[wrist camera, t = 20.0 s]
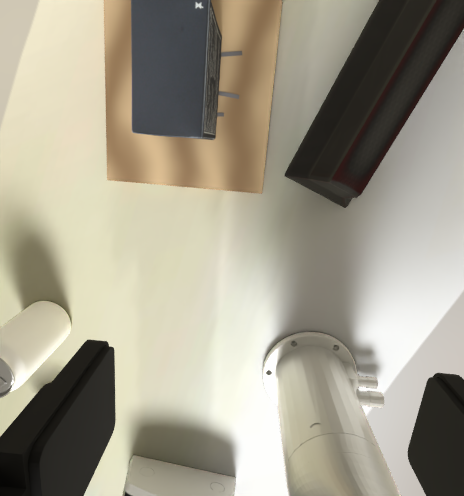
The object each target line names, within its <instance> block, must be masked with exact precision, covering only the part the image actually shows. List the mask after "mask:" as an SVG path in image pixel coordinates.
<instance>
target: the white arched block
mask: <svg viewBox="0 0 464 496" xmlns="http://www.w3.org/2000/svg"><path fill="white" fill-rule="evenodd" d="M234 491H235V477H231V476H227V475H222V474H218V473H213V472H209V471H204V470H200V469H195V468H190V467H186V466H181V465H177V464H172V463H168V462H163V461H159V460H154V459H150V458H145V457H140V456H136V455H133V456H132V458H131V461H130V464H129V469H128V472H127V477H126V482H125V486H124V491H123V496H234Z"/></svg>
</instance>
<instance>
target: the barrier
mask: <svg viewBox="0 0 464 496" xmlns="http://www.w3.org/2000/svg"><path fill="white" fill-rule="evenodd" d="M463 29H464V0H379V2H378V4H377V5H376V7H375V9H374V11H373V13H372V15H371V16H370V18H369V20H368V22H367V24H366V26H365V27H364V29H363V31H362V33H361V35H360V37H359V38H358V40H357V42H356V44H355V46H354V48H353V50H352V51H351V53H350V55H349V57H348V59H347V61H346V62H345V64H344V66H343V68H342V70H341V72H340V73H339V75H338V77H337V79H336V81H335V83H334V84H333V86H332V88H331V90H330V92H329V94H328V95H327V97H326V99H325V101H324V103H323V105H322V106H321V108H320V110H319V112H318V114H317V116H316V117H315V119H314V121H313V123H312V125H311V127H310V129H309V130H308V132H307V134H306V136H305V138H304V140H303V141H302V143H301V145H300V147H299V149H298V151H297V152H296V154H295V156H294V158H293V160H292V162H291V163H290V165H289V167H288V169H287V171H286V173H285V176H286V177H288V178H290V179H292V180H294V181H295V182H297V183H299V184H301V185H303V186H305V187H307V188H309V189H311V190H312V191H314V192H316V193H318V194H320V195H322V196H324V197H326V198H328V199H329V200H331V201H333V202H335V203H337V204H339V205H341V206H343V207H344V208H346V207H347V206H348V204H349V203H350V201H351V199H352V198H356V197H358V196H359V195H361V194H362V192H363V190H364V189H365V187H366V185H367V184H368V182H369V181H370V179H371V177H372V176H373V174H374V173H375V171H376V169H377V168H378V166H379V164H380V163H381V161H382V160H383V158H384V156H385V155H386V153H387V152H388V150H389V148H390V147H391V145H392V143H393V142H394V140H395V139H396V137H397V135H398V134H399V132H400V131H401V129H402V127H403V126H404V124H405V122H406V121H407V119H408V118H409V116H410V114H411V113H412V111H413V110H414V108H415V106H416V105H417V103H418V101H419V100H420V98H421V97H422V95H423V93H424V92H425V90H426V89H427V87H428V85H429V84H430V82H431V80H432V79H433V77H434V76H435V74H436V72H437V71H438V69H439V68H440V66H441V64H442V63H443V61H444V60H445V58H446V56H447V55H448V53H449V51H450V50H451V48H452V47H453V45H454V43H455V42H456V40H457V39H458V37H459V35H460V34H461V32H462V30H463Z"/></svg>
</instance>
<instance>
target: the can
mask: <svg viewBox="0 0 464 496" xmlns="http://www.w3.org/2000/svg"><path fill="white" fill-rule="evenodd" d="M70 330H71V321H70V318H69V316H68V314H67V313H66V311H65V310H64V309H63V308H62V307H60V306H59V305H57V304H55V303H53V302H49V301H38V302H35V303H33V304H31V305H30V306H28V307H27V308H26V309H24V310H23V311H22V312H20V313H19V314H17V315H16V316H15V317H13V318H12V319H11V320H9V321H8V322H7V323H5V324H4V325H3V326H1V327H0V398H1V397H4V396H6V395H7V394H8V393H9V392H11V391H14V390H16V389H17V388H19V387H20V386H21V385H22V384H23V383H24V382H25V381H26V380H27V379H28V378H29V377H30V376H31V375H32V374H33V373H34V372H35V371H36V370H37V369H38V368H39V367H40V366H41V364H42V363H43V362H44V361H45V360H46V359H47V358H48V357H49V356H50V355H51V354H52V353H53V352H54V351H55V350H56V348H57V347H58V346H59V345H60V344H61V343H62V342H63V341H64V340H65V339H66V338H67V336H68V335H69V333H70Z"/></svg>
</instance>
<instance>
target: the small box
mask: <svg viewBox="0 0 464 496" xmlns="http://www.w3.org/2000/svg"><path fill="white" fill-rule="evenodd" d="M221 43H222V35H221V32H220V30H219V27H218V24H217V20H216V16H215V13H214V9H213V6H212V3H211V0H131V56H132V132H133V133H137V134H146V135H154V136H165V137H182V138H194V139H206V140H214V139H215V138H216V124H217V108H218V92H219V80H220V64H221Z"/></svg>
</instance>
